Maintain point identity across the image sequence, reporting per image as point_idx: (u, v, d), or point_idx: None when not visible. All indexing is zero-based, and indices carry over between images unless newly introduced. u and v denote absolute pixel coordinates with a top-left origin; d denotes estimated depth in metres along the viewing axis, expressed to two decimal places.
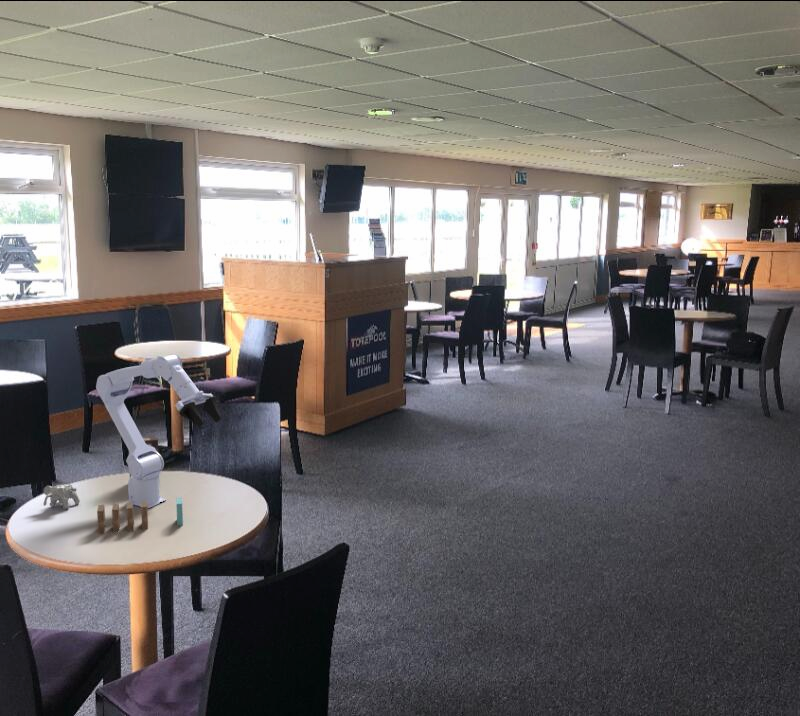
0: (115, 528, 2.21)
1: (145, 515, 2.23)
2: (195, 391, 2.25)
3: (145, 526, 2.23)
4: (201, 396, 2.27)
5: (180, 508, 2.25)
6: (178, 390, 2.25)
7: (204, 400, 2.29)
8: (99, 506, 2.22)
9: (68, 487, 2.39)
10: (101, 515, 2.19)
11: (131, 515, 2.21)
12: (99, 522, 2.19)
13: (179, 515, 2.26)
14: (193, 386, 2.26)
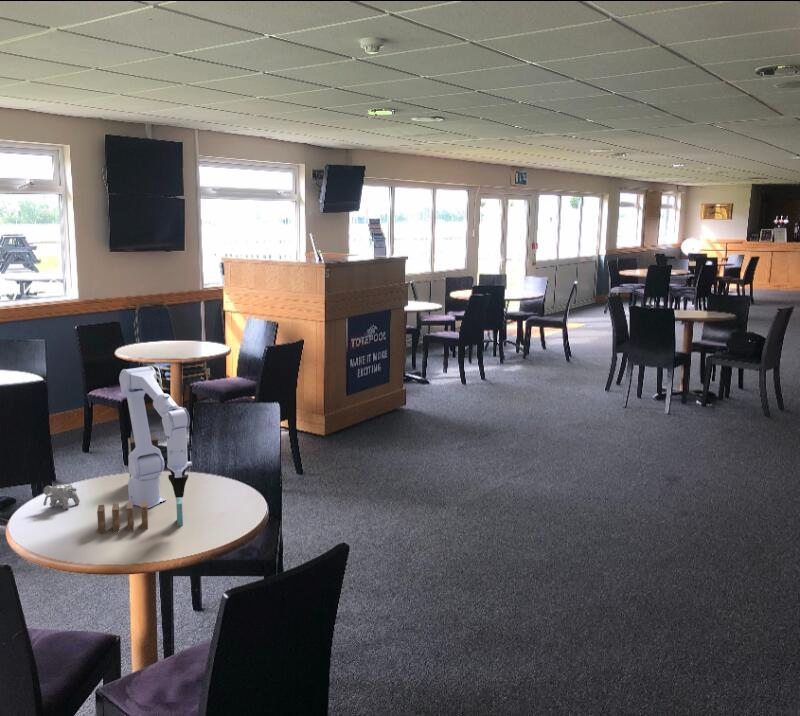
0: (115, 528, 2.21)
1: (145, 515, 2.23)
2: (187, 460, 2.25)
3: (145, 526, 2.23)
4: None
5: (180, 508, 2.25)
6: (176, 452, 2.21)
7: None
8: (99, 506, 2.22)
9: (68, 487, 2.39)
10: (101, 515, 2.19)
11: (131, 515, 2.21)
12: (99, 522, 2.19)
13: (179, 515, 2.26)
14: None
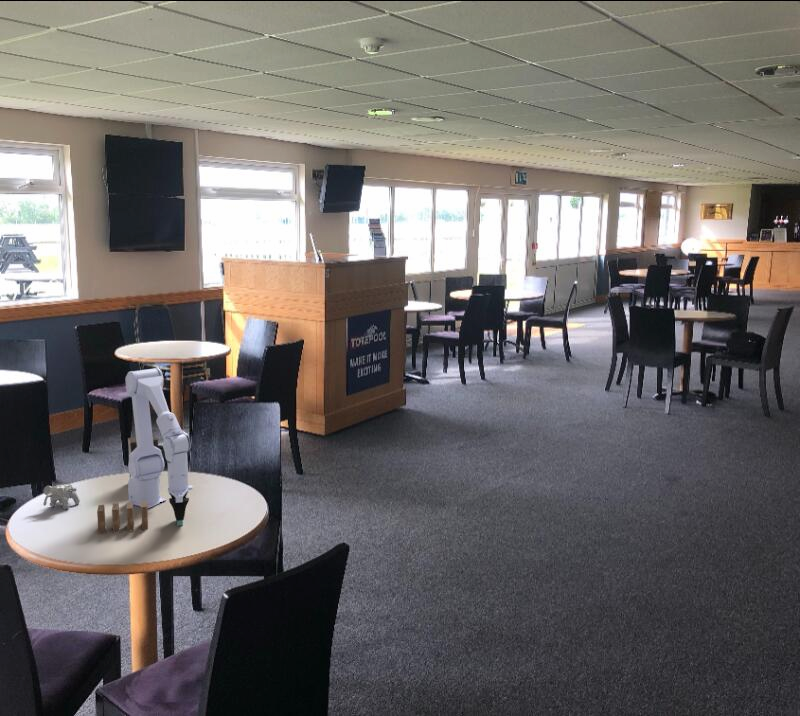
0: (115, 528, 2.21)
1: (145, 515, 2.23)
2: None
3: (145, 526, 2.23)
4: None
5: None
6: (177, 477, 2.23)
7: None
8: (99, 506, 2.22)
9: (68, 487, 2.39)
10: (101, 515, 2.19)
11: (131, 515, 2.21)
12: (99, 522, 2.19)
13: None
14: None
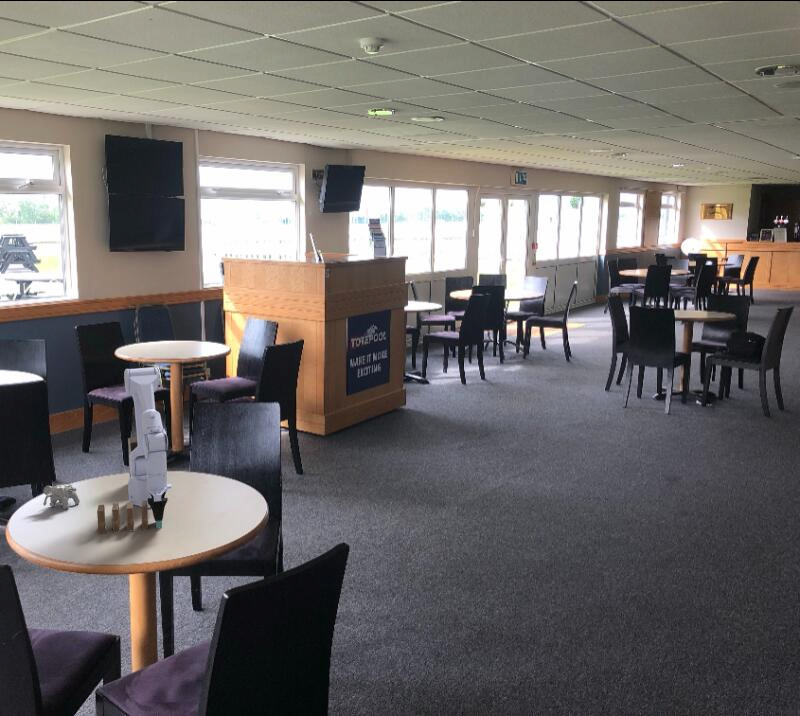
0: (115, 528, 2.21)
1: (145, 515, 2.23)
2: None
3: (145, 526, 2.23)
4: None
5: None
6: (156, 475, 2.21)
7: None
8: (99, 506, 2.22)
9: (68, 487, 2.39)
10: (101, 515, 2.19)
11: (131, 515, 2.21)
12: (99, 522, 2.19)
13: None
14: (166, 476, 2.25)
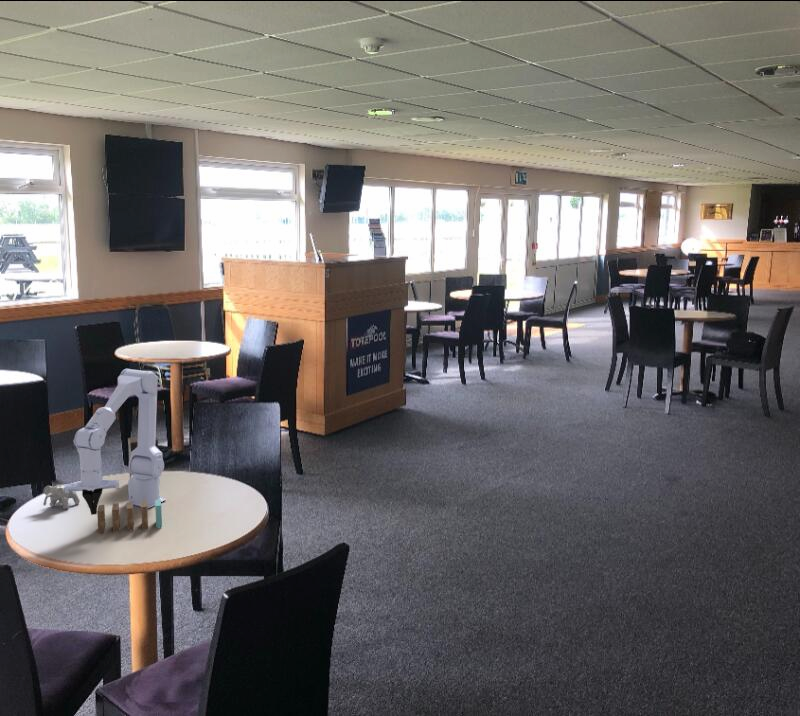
0: (115, 528, 2.21)
1: (145, 515, 2.23)
2: (89, 483, 2.16)
3: (145, 526, 2.23)
4: None
5: (159, 510, 2.24)
6: None
7: (105, 487, 2.20)
8: (99, 506, 2.22)
9: None
10: (101, 515, 2.19)
11: (131, 515, 2.21)
12: (99, 522, 2.19)
13: (158, 517, 2.24)
14: (91, 477, 2.16)
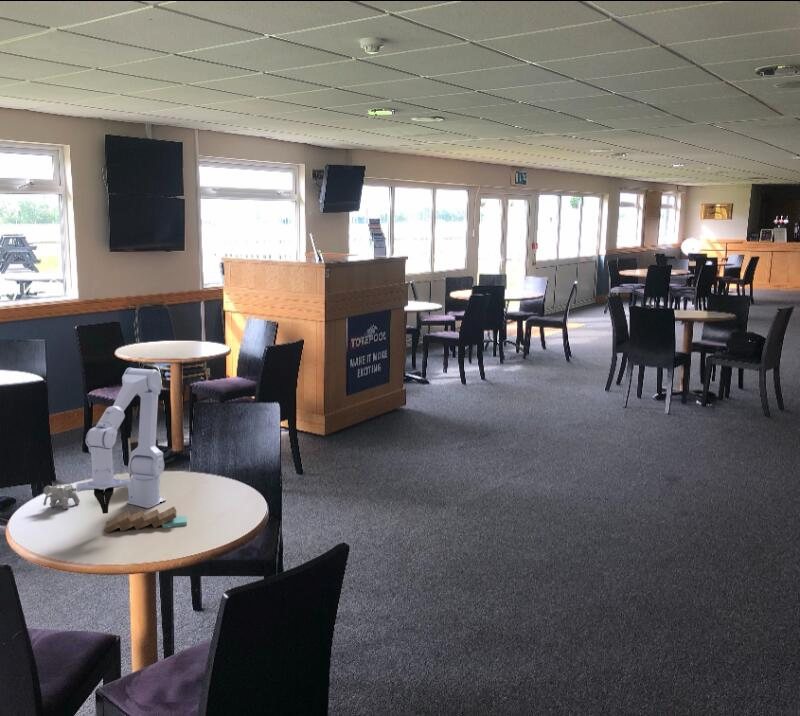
0: (124, 527, 2.21)
1: (167, 520, 2.25)
2: (100, 482, 2.17)
3: (156, 525, 2.24)
4: None
5: (181, 525, 2.26)
6: (92, 469, 2.18)
7: (116, 486, 2.21)
8: (128, 513, 2.25)
9: (68, 487, 2.39)
10: (125, 522, 2.21)
11: (151, 522, 2.24)
12: (117, 524, 2.21)
13: (174, 525, 2.26)
14: (102, 476, 2.17)
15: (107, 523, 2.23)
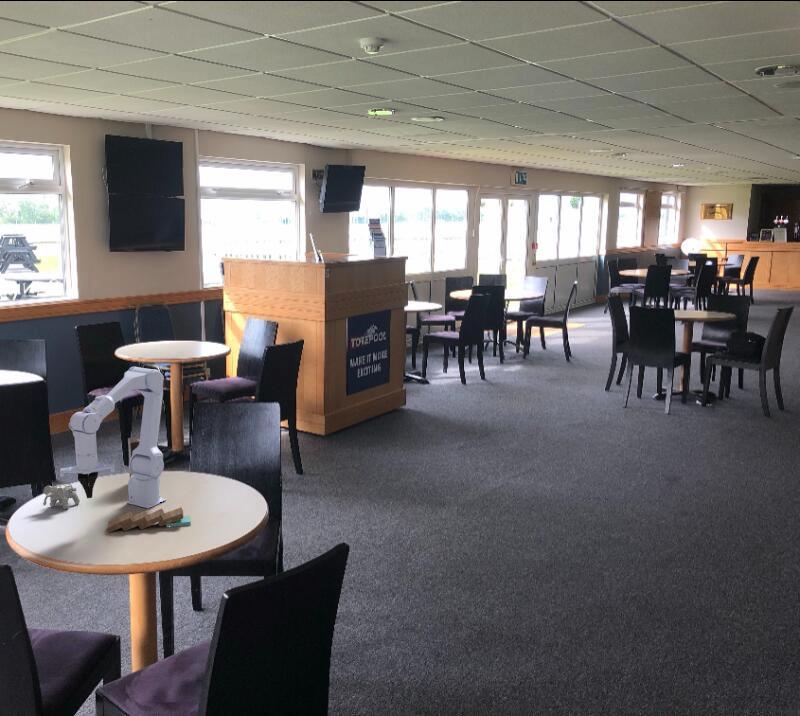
0: (126, 527, 2.22)
1: (174, 519, 2.25)
2: (84, 467, 2.17)
3: (162, 523, 2.24)
4: None
5: None
6: None
7: (100, 471, 2.21)
8: (131, 513, 2.25)
9: (68, 487, 2.39)
10: (127, 522, 2.21)
11: (155, 521, 2.23)
12: (119, 524, 2.21)
13: (178, 525, 2.26)
14: (86, 461, 2.17)
15: (109, 523, 2.23)
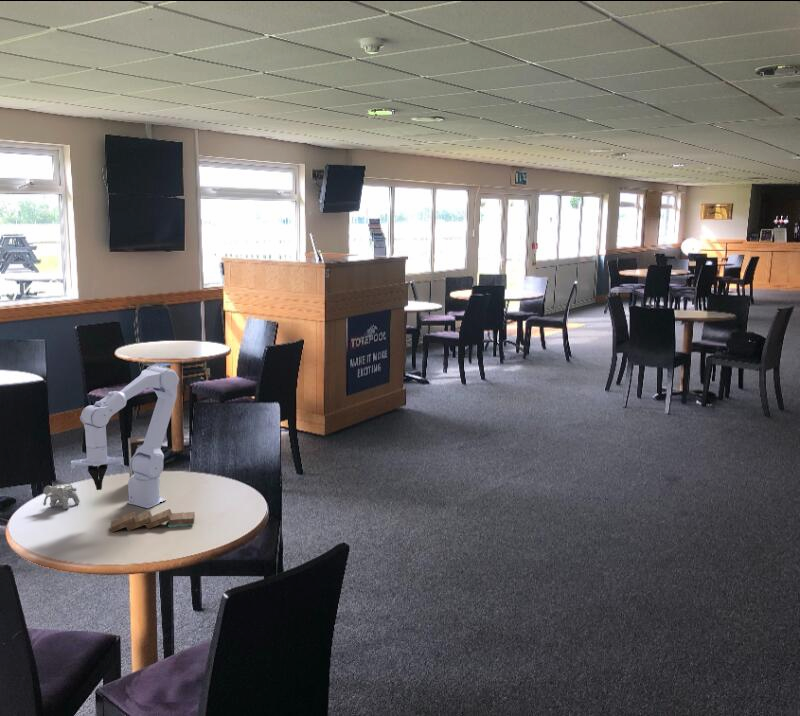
0: (130, 527, 2.22)
1: (184, 522, 2.25)
2: (94, 459, 2.23)
3: (172, 522, 2.25)
4: None
5: None
6: None
7: (110, 463, 2.27)
8: (134, 513, 2.25)
9: (68, 487, 2.39)
10: (130, 522, 2.22)
11: (162, 521, 2.24)
12: (122, 523, 2.21)
13: None
14: (96, 453, 2.23)
15: (112, 522, 2.23)
